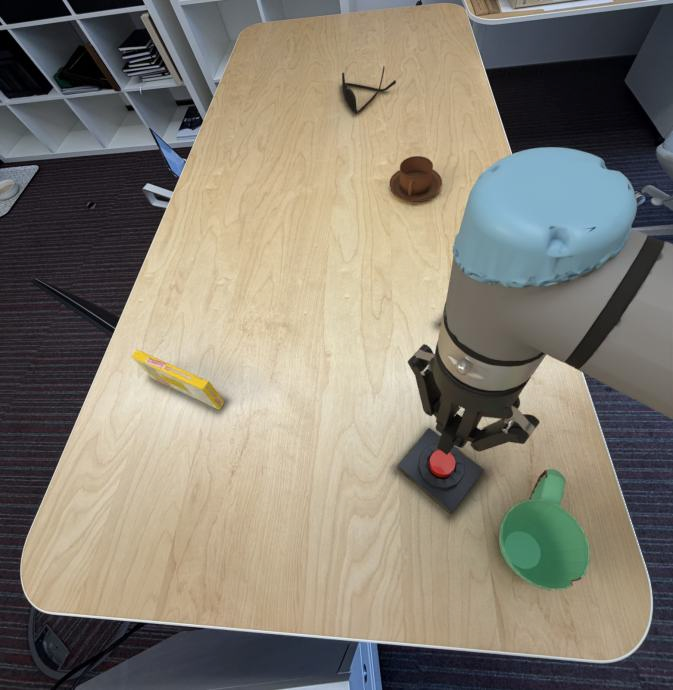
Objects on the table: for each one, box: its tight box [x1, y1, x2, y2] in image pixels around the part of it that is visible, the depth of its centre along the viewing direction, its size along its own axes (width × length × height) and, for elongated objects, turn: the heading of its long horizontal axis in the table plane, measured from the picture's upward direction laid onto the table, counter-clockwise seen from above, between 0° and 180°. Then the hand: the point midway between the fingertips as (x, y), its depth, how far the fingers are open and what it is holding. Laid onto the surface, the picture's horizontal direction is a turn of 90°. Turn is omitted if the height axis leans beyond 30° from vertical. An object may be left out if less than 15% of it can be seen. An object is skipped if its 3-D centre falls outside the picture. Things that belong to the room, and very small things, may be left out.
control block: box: [397, 427, 485, 515], centre depth 62 cm, size 10×8×4 cm
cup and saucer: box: [389, 155, 443, 203], centre depth 95 cm, size 12×12×6 cm
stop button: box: [429, 450, 456, 477], centre depth 60 cm, size 4×4×2 cm
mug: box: [498, 468, 591, 591], centre depth 54 cm, size 15×10×10 cm
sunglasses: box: [341, 65, 397, 114], centre depth 119 cm, size 17×14×5 cm
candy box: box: [130, 349, 225, 411], centre depth 73 cm, size 16×2×8 cm, turn 64°
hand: (448, 443), depth 52 cm, fingers closed
